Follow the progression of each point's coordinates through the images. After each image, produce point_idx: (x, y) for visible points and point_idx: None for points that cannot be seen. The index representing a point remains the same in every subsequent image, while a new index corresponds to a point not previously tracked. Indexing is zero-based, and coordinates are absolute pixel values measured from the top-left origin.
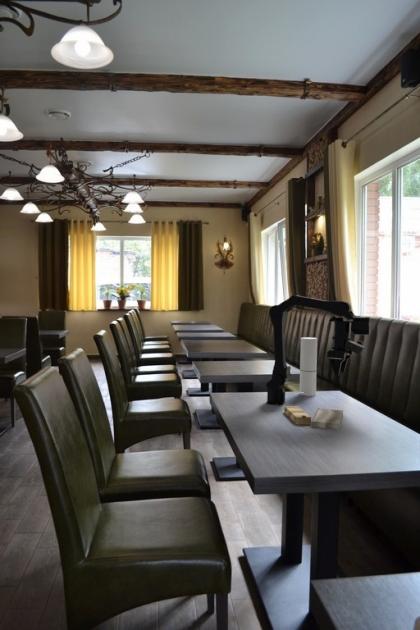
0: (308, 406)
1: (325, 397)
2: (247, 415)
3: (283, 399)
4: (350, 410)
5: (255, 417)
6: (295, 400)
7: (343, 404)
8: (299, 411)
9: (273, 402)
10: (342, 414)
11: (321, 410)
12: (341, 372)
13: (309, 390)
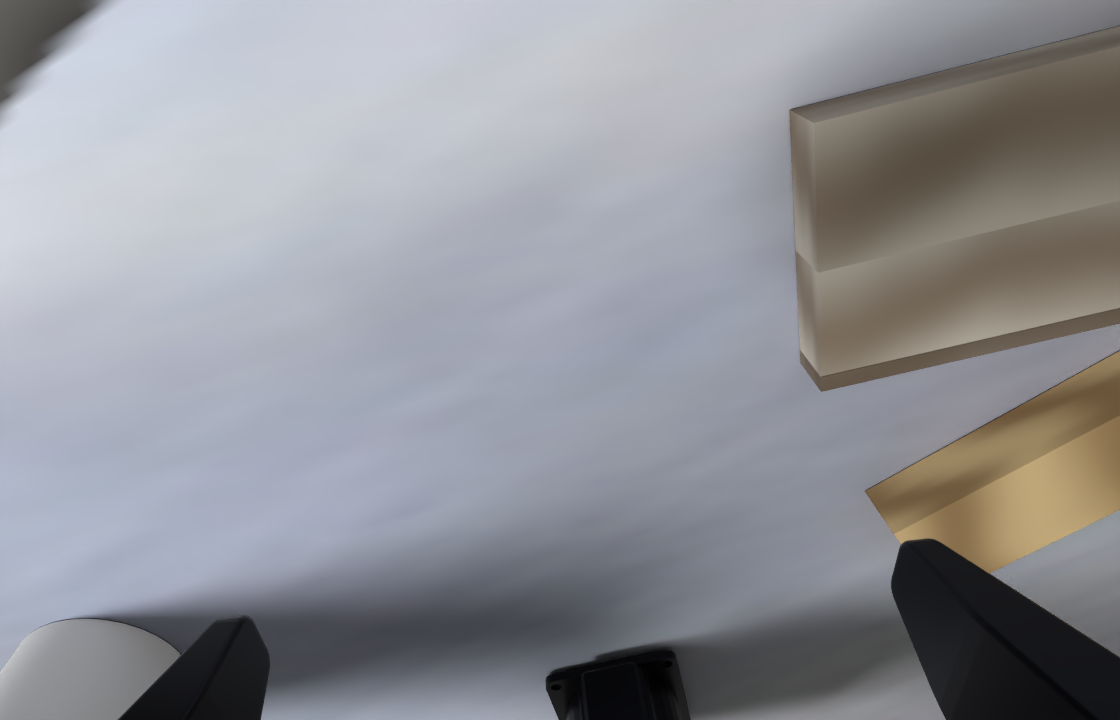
0: (581, 508)
1: (61, 534)
2: None
3: (642, 688)
4: (478, 105)
5: (1112, 618)
6: (427, 647)
7: (218, 283)
8: (1114, 451)
9: (678, 701)
10: (911, 88)
11: (922, 327)
12: (263, 656)
13: (135, 693)
